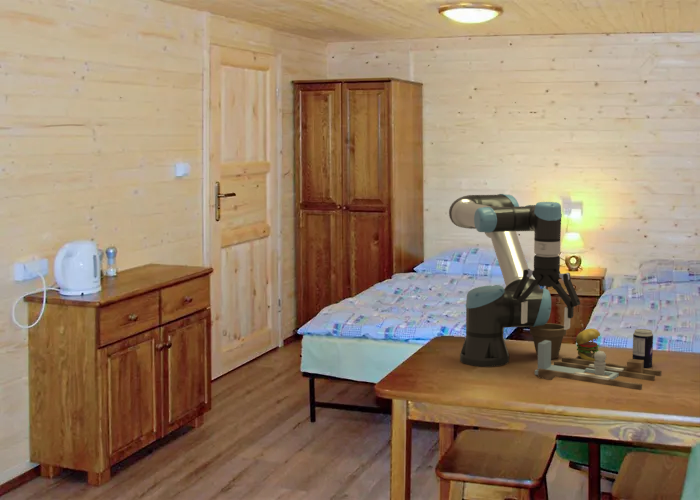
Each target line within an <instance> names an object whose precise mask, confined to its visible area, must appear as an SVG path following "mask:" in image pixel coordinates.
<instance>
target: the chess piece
mask: <svg viewBox="0 0 700 500" xmlns="http://www.w3.org/2000/svg"><path fill="white" fill-rule="evenodd" d="M594 358H595V361H594V367H595V374H594V375H600V376H606V375H604V372H605V367H606V365H605V364H606V363H607V362H606V360H607V354H606V352H605V351H603V350H599V351H597V352H595V355H594Z"/></svg>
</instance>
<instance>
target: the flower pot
mask: <svg viewBox="0 0 700 500" xmlns="http://www.w3.org/2000/svg"><path fill="white" fill-rule="evenodd" d="M529 334H530V335H531V337H532V340H533V344H534V350H535V353H536V356H537V358H538V343H540V342H542V341H544V340H548V341H551V360H554V359H557V358H559V354H560V352H561V351H560V350H561V347H562V343H563V339H564V336H566V334H567V330H564V324H563V325H562V324H560V323H551V322H549V323H548V322H547V323H546V324H545V325H542V326H535V327H532V326H529Z"/></svg>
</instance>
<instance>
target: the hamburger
mask: <svg viewBox="0 0 700 500" xmlns="http://www.w3.org/2000/svg"><path fill="white" fill-rule="evenodd" d="M581 327H582V329H583V330H582V331H580V332H579V333H578V334H577V335H576V339H575V341H576V347H577V348H576V351H577V355H578V356H579V359H583V360H590V361H595V358H594V355H595V353H596V352H597V351H600V349H599V347H600V345H599V344H598V340H599V337H601V333H600V331H599V330H598V329H596V328H586V329H584V324H581ZM594 340H595V341H596V342H594Z"/></svg>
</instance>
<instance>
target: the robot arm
mask: <svg viewBox="0 0 700 500" xmlns="http://www.w3.org/2000/svg"><path fill="white" fill-rule="evenodd" d="M448 216H449V220H450V221H451V222H452V223H453V224H454V225H455V226H457V227H458V228H461V229H462V228H463V229H468V230H469V229H471V230H472V229H473V230H474V229H475V230H476V231H477V232H479V233H484V235H485V236H486V237H487V238H490V240H491V243H492V246H493V249H494V253H495V255H496V259H497V261H498V265H499V267H500V268H499V269H500V271H501V275H502V278H503V282H504V285H505V287H504V286H501V285H484V286H478V287H475V288H472V289H470V290H469V291H468V292H467V293H466V300H465V310H466V311H465V338H464V342H463V345H462V348H461V351H460V352H459V353H460V355H459V356H460V357H459V360H460V362H461V363H463V364H465V365H469V366H474V367H484V368H485V367H486V368H487V367H491V368H492V367H500V366H504V365H507V364H509V362H510V354H509V351H508V347H507V344H506V341H505V337H504V330H505V328H525V327H527V328H530V326H532V327H535V326H542V325H545V324H546V323H548V322H549V319H550V318H551V317H550V316H551V313H552V296H551V293H550V290H549V289H547V288H552V289H553V290H555V291H556V293H557V294H558V295H559V297H560V298H561V300H562V301H563V303H564V304H565V305H566V306H565V307H564V316H563V317H564V318H563V319H564V321H563V326H564V330H566V331H567V330H569V329H570V328H571V319H572V318H574V307H577V306H579V305H580V304H581V301H580V299H579V296H578V293H577V291H576V290H575V287H574V284H573V283H572V279H571V273H570V272H566V273H561V271H560V267H561V257H560V254H561V233H562V216H563V213H562V205H561V204H560V203H559V202H554V201H539V202H537V203H536V204H528V205H525V206H520V204H519V202H518V199H517V198H516V197H515V196H513V195H511V194H504V193H499V194H498V193H497V194H468V195H464V196H461V197H459V198H457V199H456V200H454V201H453V202H452V203H451V204H450V207H449V209H448ZM517 232H533V233H534V237H533V239H534V242H533V246H534V247H533V254H534V256H533V270H532V269H530V268H529V267H528V264H527V260H526V258H525V254H524V251H523V247H522V245H521V243H520V240H519V236H518V234H517ZM560 279H561V281H563V284H564V287H565V289H566V290H567V291H566V290H565V289H564V287H563V286H562V284H561V282H560V281H559V280H560ZM541 287H543V288H541ZM544 287H546V288H544Z"/></svg>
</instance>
